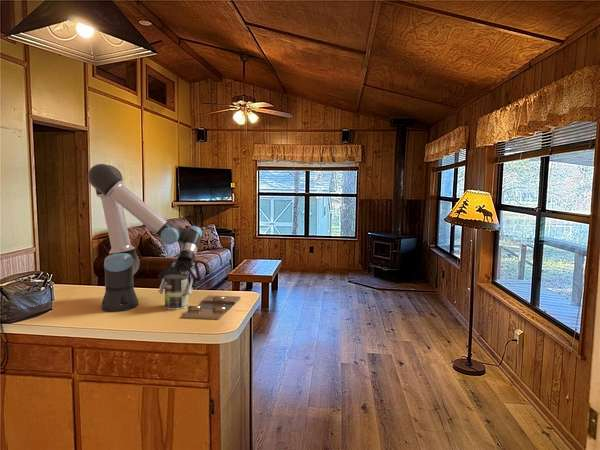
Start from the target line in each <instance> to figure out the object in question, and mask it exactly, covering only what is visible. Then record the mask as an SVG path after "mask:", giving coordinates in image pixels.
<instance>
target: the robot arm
mask: <svg viewBox="0 0 600 450" xmlns="http://www.w3.org/2000/svg"><path fill="white" fill-rule="evenodd" d="M87 180H88V182H89V184H90V186H91V187H92V188H94V189H95V190H94V191H95V193H96V197H98V198H100V200H101V205H102V209H103V214H104V215H103V216H104V219H105V223H106V228H107V234H108V238H109V243H110V247H111V248H110V250H109V252H108V256H106V257H105V258H104V261H103V262H104V263H103V269H104V286H105V287H104V288H105V289H104V290H105V292H104V295H103V299H102V301H101V310H102V311H105V312H122V311H123V312H124V311H129V310H132V309H135V308H137V307H138V306H139V299H138V296H137V294H136V291H135V287H134V285H135V283H134V275H135V274H136V273H137V272H138V270H140V263H141V262H140V258H139V256H138V255H137V251H136V247H135V246H133V245H132V243H131V240H130V235H129V229H128V225H127V220H126V215H125V210H126V211H127V212H128V213H130V214H131V215H132V216H133V217H134V218H135V219H137V220H139V221H140V223H142V225H144V226H146V227H147V228H148V229H150V231H152V232H153V233H154V234H156V236H158V237H159V238H160V239H161V241H162V242H163V243H164V244H167V245H173V244H175V243H180V244H182V245H181V247H180V251H179V254H178V256H177V260H176V261H172V260H171V261H169V263H168V264H167V266H166V267H164V268H163V270H162V271H161V272H160V273H159V274H158V275H157V277H158V279H159V283H158V285H159V288H158V293H159V294H160V295H162V294H163V293H164V291H165V281H164V276H166V275H170V274H178V272H180V273H182V272H183V273H187V272H188V273H189V275H190V276H191V278H192V279H190V283H189V284H188V296H191V295H192V294H193V293H192V292H193V289H194V288H196V285H197V282H201V281H202V277H201V276H202V275H201V273H200V269H199V267H200V264H199V262H198V261H195V259H196V255H197V252H198V250H199V247H200V243H201V240H202V236H203V230H202V229H201V228H200V227H198V226H196V225H190V226H188V228H185V227H183V226H179V225H177V224H173V223H171V222H168V221H167V220H166V219H165V218H164V217H162V216H161V215H160V214H159V213H157V212H156V211H155V210H154V209H153V208H152V207H150V205H148V204H147V203H146V202H145V201H143V200H142V199H141V198H140V197H139V196H137V195H136V194H135V193H133V192H132V191H131V190H130V189H129V188H127V187H126V186H125V185H124V184H123V175H122V172H121V171H120V170H119V169H118V168H117V167H115V166H113V165H111V164H105V163H99V164H98V163H97V164H95V165H93V166H91V168H89V170H88V173H87ZM124 209H125V210H124ZM194 261H195V262H194ZM193 267H194V270H195V273H196V276H195V274H194V273H193V271H192V270H191V269H192V268H193Z"/></svg>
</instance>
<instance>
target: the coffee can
mask: <svg viewBox="0 0 600 450" xmlns="http://www.w3.org/2000/svg"><path fill="white" fill-rule="evenodd" d="M188 278H189V275H188V274H186V273H175V274H170V275H166V276H164V281H165V287H164V308H165V309H166V310H173V311H174V310H175V311H176V310H184V309H186V308H188V307H189V294H188V289H189V279H188Z"/></svg>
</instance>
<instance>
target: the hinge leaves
mask: <svg viewBox="0 0 600 450" xmlns="http://www.w3.org/2000/svg"><path fill="white" fill-rule="evenodd" d="M240 300H241V296H236V295H235V296H233V295H232V296H231V295H211V294H210V295H209V294H208V295H207V296H206V297H205V298H203V299H202V300H201V302H200V303H199V304H197V305H188V307H187V310H186V311H185V312H184V313H182V314H181V318H182V319H198V320H199V319H201V320H202V319H203V320H221V318H222V317H223V316H224V315H225V314H226V313H227V312H229V311H230V310H231V308H233V307H234V306H235V305H236V304H237V303H238V302H239V301H240ZM232 306H233V307H232Z"/></svg>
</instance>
